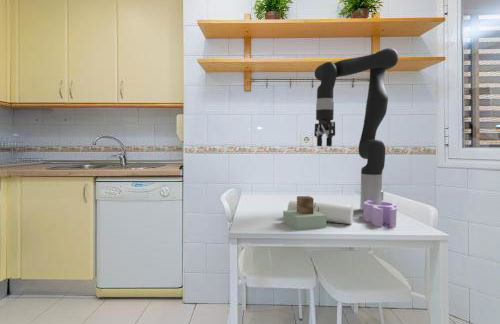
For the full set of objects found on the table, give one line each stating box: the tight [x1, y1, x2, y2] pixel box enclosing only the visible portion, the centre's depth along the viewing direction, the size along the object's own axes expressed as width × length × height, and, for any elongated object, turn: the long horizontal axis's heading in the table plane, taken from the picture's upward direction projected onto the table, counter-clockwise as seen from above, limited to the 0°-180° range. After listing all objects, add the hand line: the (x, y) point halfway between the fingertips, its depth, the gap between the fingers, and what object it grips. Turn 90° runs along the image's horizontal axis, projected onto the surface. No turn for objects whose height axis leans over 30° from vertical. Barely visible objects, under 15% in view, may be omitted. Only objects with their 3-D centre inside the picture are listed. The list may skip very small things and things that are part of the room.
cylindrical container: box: [287, 200, 354, 225], centre depth 129 cm, size 7×7×25 cm
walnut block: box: [296, 195, 315, 214], centre depth 123 cm, size 5×5×6 cm
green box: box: [282, 209, 327, 231], centre depth 122 cm, size 12×12×5 cm
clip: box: [362, 200, 398, 229], centre depth 129 cm, size 20×12×7 cm, turn 169°
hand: (324, 146), depth 142 cm, fingers open, 8 cm apart
